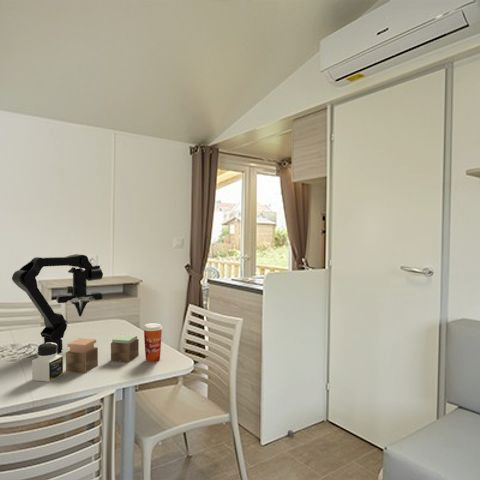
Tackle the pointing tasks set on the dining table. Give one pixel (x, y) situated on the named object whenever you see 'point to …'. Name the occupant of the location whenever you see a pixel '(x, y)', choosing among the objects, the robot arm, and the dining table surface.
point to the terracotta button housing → (81, 361)
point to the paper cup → (152, 341)
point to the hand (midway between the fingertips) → (80, 316)
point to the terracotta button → (81, 345)
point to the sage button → (124, 339)
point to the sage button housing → (124, 351)
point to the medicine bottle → (47, 363)
